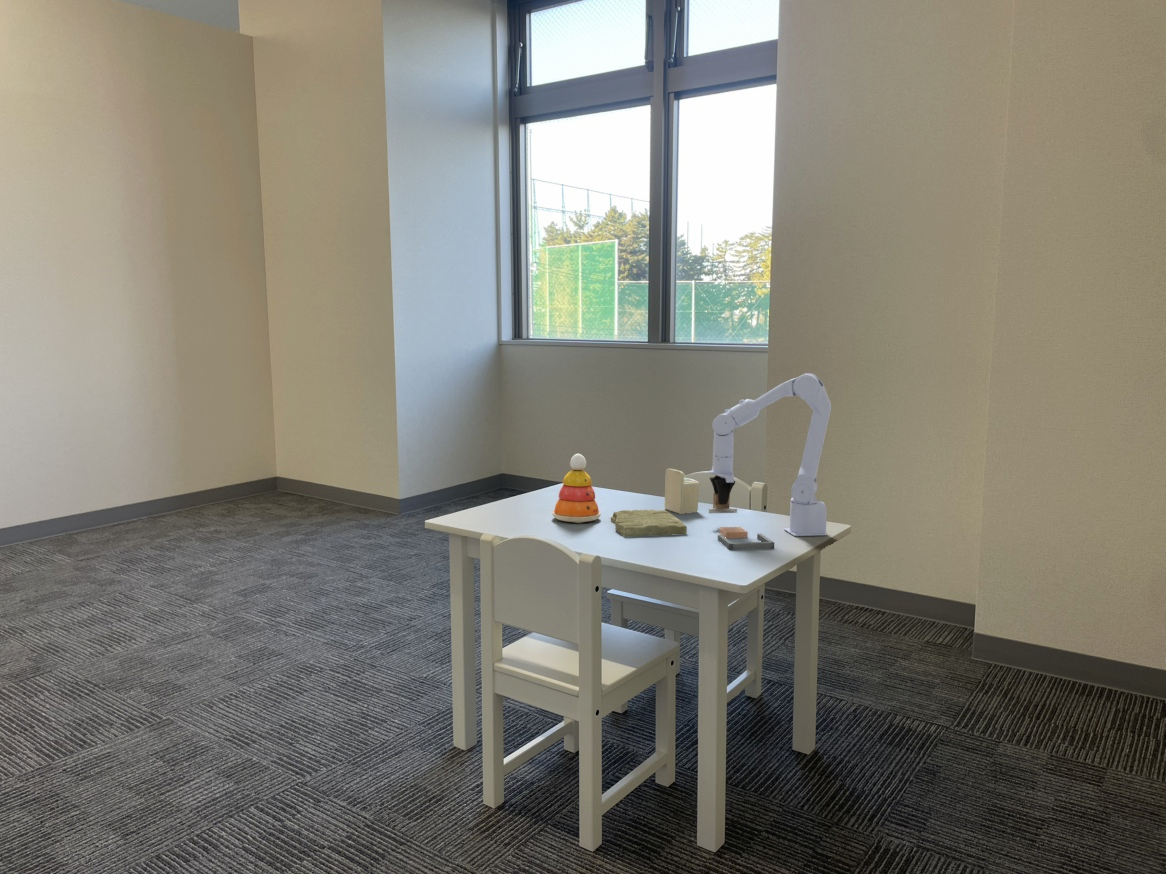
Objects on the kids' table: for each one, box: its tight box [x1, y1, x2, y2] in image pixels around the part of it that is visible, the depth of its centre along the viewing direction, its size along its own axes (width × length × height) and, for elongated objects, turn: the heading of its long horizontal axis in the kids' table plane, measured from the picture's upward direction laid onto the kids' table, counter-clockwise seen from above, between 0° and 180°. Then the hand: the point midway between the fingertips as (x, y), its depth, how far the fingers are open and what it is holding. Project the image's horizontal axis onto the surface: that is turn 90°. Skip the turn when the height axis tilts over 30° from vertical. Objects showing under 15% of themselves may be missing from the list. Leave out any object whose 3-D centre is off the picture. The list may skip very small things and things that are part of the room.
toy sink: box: [664, 468, 701, 515], centre depth 267 cm, size 8×7×13 cm
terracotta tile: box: [719, 526, 748, 539], centre depth 237 cm, size 6×6×2 cm
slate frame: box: [717, 533, 775, 551], centre depth 227 cm, size 12×10×2 cm
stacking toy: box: [551, 453, 601, 524], centre depth 253 cm, size 14×14×20 cm
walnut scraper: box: [708, 493, 738, 514], centre depth 246 cm, size 8×3×5 cm, turn 99°
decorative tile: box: [610, 509, 688, 537], centre depth 245 cm, size 19×20×4 cm
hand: (721, 503), depth 247 cm, fingers closed on walnut scraper, 2 cm apart
